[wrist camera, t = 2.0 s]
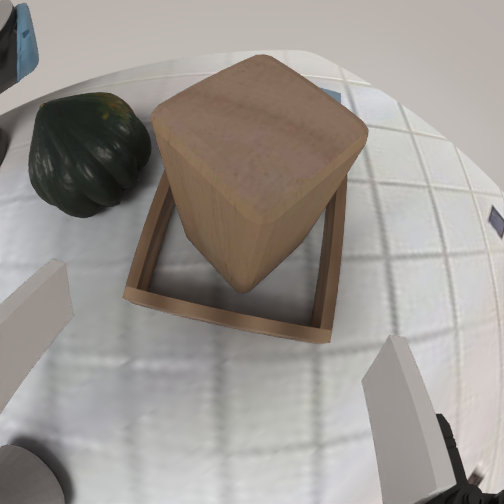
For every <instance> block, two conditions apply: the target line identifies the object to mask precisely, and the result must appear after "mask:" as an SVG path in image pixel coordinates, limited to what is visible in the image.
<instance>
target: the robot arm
mask: <svg viewBox="0 0 504 504" xmlns="http://www.w3.org/2000/svg"><path fill="white" fill-rule="evenodd" d="M38 62H39V55H38V48H37V43H36V37H35V33H34V28H33V23H32V19H31V15H30V11H29V8H28V6H27V4H26V3H22V4H18V5H17V6H16V7H15V8H14V6H13V4H12V2H11V1H10V0H0V94H1V93H2V92H4V91H5V90H7V89H8V88H10V87H11V86H13V85H14V84H16V83H18V82H19V81H20V80H21V79H22V78H24V77H25V76H27V75H28V74H29V73H31V72H32V71H33V70H34V69H35V68H36V66H37V65H38ZM7 143H8V139H7V135H6V133H5V132H4V130H3V129H2V128H1V127H0V164H1V162H2V160H3V158H4V155H5V152H6V149H7ZM73 316H74V313H73V308H72V302H71V296H70V290H69V283H68V276H67V268H66V263H64V262H61V261H58V260H55V259H52V260H50V261H49V262H48V263H47V264H45V265H44V266H43V267H42V268H41V269H39V270H38V271H37V272H36V273H35V274H34V275H32V276H31V277H30V278H29V279H28V280H27V281H26V282H24V283H23V284H22V285H21V286H20V287H19V288H18V289H17V290H15V291H14V292H13V293H12V294H11V295H10V296H9V297H8V298H7V299H6V300H5V301H3V302H2V303H1V304H0V414H1V412H2V411H3V409H4V408H5V406H6V405H7V403H8V402H9V400H10V399H11V397H12V396H13V395H14V393H15V392H16V390H17V389H18V387H19V386H20V385H21V383H22V382H23V380H24V379H25V378H26V376H27V375H28V373H29V372H30V371H31V369H32V368H33V367H34V365H35V364H36V363H37V361H38V360H39V359H40V357H41V356H42V355H43V353H44V352H45V351H46V350H47V348H48V347H49V346H50V344H51V343H52V342H53V341H54V339H55V338H56V337H57V336H58V334H59V333H60V332H61V331H62V329H63V328H64V327H65V326H66V324H67V323H68V322H69V321H70V320H71V318H72V317H73ZM362 385H363V389H364V394H365V399H366V404H367V409H368V414H369V419H370V424H371V429H372V435H373V440H374V446H375V452H376V458H377V464H378V471H379V477H380V484H381V492H382V500H383V504H504V490H502V491H501V492H499V493H498V494H488V493H482V491H481V490H480V489H479V488H478V487H477V486H476V485H473V484H469V483H468V481H467V478H466V475H465V471H464V468H463V464H462V461H461V458H460V455H459V451H458V448H456V442H455V439H454V438H453V433H452V430H451V427H450V425H449V423H448V422H447V420H446V419H445V418H444V416H443V415H442V414H435V412H434V409H433V406H432V403H431V400H430V398H429V395H428V392H427V390H426V387H425V384H424V382H423V379H422V377H421V374H420V372H419V369H418V367H417V364H416V362H415V359H414V357H413V355H412V352H411V350H410V348H409V345H408V343H407V341H406V338H405V337H400V336H393V335H389V337H388V338H387V340H386V342H385V344H384V345H383V347H382V349H381V350H380V352H379V354H378V355H377V357H376V359H375V360H374V362H373V364H372V365H371V367H370V368H369V370H368V372H367V373H366V375H365V376H364V378H363V379H362Z"/></svg>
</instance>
